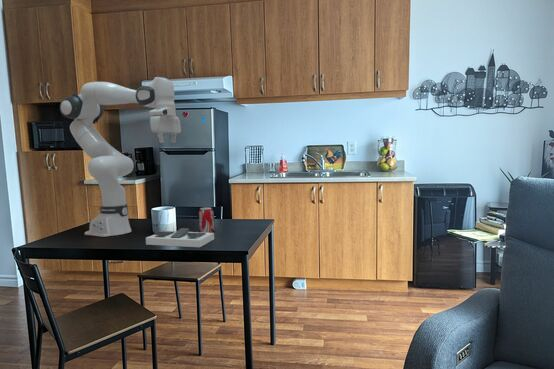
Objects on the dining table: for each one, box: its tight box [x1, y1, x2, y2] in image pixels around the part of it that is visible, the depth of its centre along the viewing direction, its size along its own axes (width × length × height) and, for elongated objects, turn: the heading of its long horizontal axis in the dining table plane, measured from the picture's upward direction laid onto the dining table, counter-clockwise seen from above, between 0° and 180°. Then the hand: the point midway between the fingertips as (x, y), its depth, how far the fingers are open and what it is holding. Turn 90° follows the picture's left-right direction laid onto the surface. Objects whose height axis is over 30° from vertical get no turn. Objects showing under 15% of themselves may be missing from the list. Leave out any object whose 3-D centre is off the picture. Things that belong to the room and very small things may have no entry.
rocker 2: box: [187, 233, 206, 237], centre depth 166 cm, size 4×9×2 cm, turn 164°
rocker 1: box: [154, 230, 174, 235], centre depth 170 cm, size 4×9×2 cm, turn 164°
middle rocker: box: [171, 227, 190, 238], centre depth 168 cm, size 4×9×2 cm, turn 164°
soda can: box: [198, 206, 215, 233], centre depth 186 cm, size 7×7×12 cm
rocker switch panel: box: [145, 230, 215, 248], centre depth 168 cm, size 26×14×3 cm, turn 74°
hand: (167, 142), depth 175 cm, fingers open, 8 cm apart
